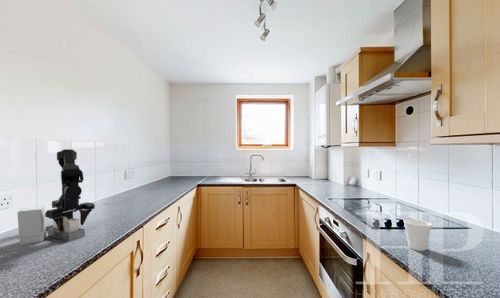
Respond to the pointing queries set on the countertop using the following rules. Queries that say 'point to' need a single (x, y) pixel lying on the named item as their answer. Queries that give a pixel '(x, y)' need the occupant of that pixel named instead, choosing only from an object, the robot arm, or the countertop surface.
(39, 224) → the skincare box
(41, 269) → the countertop surface
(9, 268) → the countertop surface
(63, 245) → the countertop surface
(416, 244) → the cup
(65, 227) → the pale upright block
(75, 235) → the grey holder tray
